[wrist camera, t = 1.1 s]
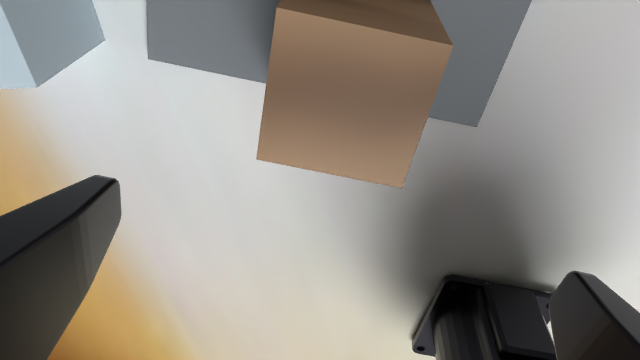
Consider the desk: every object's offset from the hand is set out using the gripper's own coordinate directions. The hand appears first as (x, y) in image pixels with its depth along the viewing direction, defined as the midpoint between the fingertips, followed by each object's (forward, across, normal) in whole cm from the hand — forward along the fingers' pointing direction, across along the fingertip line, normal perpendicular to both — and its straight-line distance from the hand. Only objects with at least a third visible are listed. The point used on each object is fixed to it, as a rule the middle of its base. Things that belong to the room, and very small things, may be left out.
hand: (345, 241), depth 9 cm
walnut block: (+11, 0, 0) cm, 11 cm away
